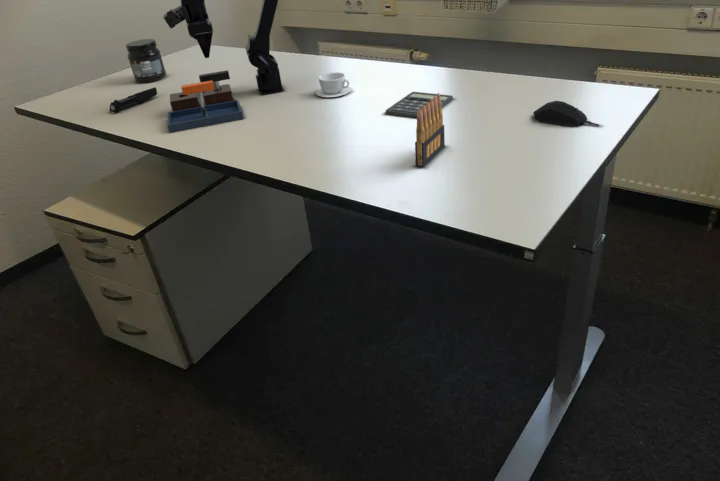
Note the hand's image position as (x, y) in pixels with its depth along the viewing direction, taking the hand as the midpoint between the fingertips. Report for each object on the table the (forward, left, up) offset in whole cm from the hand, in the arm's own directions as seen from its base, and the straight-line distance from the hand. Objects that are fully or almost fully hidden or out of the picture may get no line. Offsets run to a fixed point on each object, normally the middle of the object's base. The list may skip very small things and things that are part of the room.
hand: (206, 54), depth 153 cm
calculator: (-49, +37, -13) cm, 63 cm away
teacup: (-32, +14, -13) cm, 37 cm away
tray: (+4, +16, -13) cm, 21 cm away
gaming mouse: (-74, +62, -13) cm, 98 cm away
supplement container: (+20, -36, -13) cm, 44 cm away
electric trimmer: (+24, -9, -13) cm, 29 cm away
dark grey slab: (-1, +6, -13) cm, 14 cm away
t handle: (+4, +16, -12) cm, 21 cm away
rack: (+4, +6, -13) cm, 15 cm away
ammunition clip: (-40, +66, -13) cm, 78 cm away
